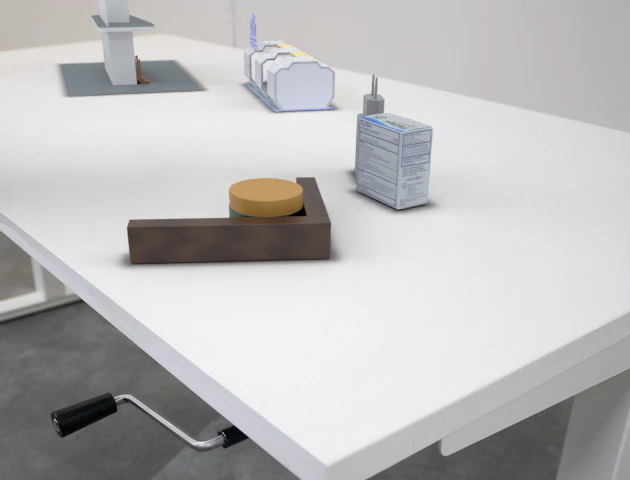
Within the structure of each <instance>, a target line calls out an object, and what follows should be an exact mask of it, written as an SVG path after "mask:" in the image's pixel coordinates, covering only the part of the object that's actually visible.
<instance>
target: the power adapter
mask: <svg viewBox="0 0 630 480" xmlns="http://www.w3.org/2000/svg"><path fill="white" fill-rule="evenodd" d="M371 77H372V78H371V81H372V82H371V92H369V93H366V94H363V101H362V102H363V103H362V112H361V113H357V114H356V133H355V134H356V135H355V158H354V159H355V160H354V175H355V176H356V177H357V155H358V128H359V118H360V117H364V116H368V115H374V114H382V113H385V101H386V99H385V98H384V97H383V96H382V95H381V94H379V93H378V80H379V77H377V76H376V75H375V74H372V76H371Z"/></svg>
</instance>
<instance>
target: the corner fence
mask: <svg viewBox="0 0 630 480" xmlns="http://www.w3.org/2000/svg"><path fill="white" fill-rule="evenodd" d="M295 183H297V184H299V185H300V186H301V187H302V188H303V216H288V217H237V218H229V217H194V218H193V217H191V218H150V219H149V218H141V219H137V218H136V219H129V220H128V223H127V226H126V234H127V241H128V242H127V244H128V253H129V262H130V264H131V265H132V264H168V263H170V264H172V263H210V262H211V263H212V262H249V261H251V262H252V261H253V262H254V261H289V260H290V261H292V260H295V261H296V260H327V259H328V260H329V259H331V244H332V243H331V242H332V241H331V239H332V237H331V236H332V222H331V219H330V217H329V213H328V210H327V208H326V205H325V202H324V199H323V197H322V194H321V191H320V187H319V185H318V182H317V180H316V177H315V176H301V177H300V176H299V177H295Z"/></svg>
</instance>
